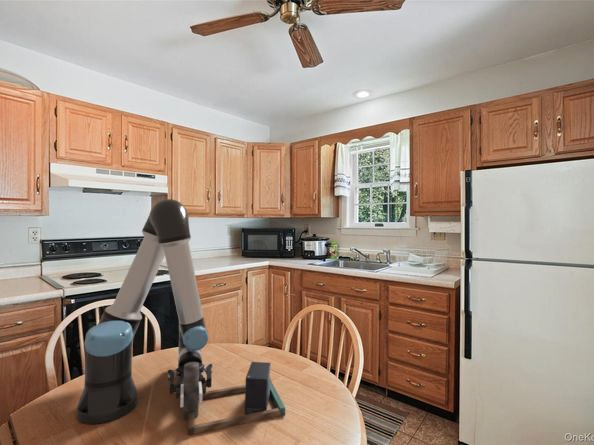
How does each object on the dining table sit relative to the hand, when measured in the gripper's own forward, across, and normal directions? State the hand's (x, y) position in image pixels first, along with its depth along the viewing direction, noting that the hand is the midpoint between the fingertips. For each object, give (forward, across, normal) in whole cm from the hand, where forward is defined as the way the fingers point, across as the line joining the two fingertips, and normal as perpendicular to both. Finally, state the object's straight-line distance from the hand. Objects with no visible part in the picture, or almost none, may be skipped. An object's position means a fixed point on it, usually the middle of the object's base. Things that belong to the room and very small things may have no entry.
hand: (191, 400), depth 80 cm
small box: (-5, -19, -8) cm, 21 cm away
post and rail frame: (-5, -11, -7) cm, 15 cm away
